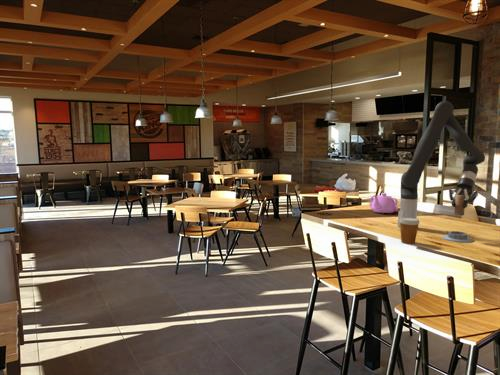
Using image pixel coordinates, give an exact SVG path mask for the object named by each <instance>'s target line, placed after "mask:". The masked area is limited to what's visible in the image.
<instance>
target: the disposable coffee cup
mask: <svg viewBox="0 0 500 375" xmlns="http://www.w3.org/2000/svg"><path fill="white" fill-rule="evenodd" d="M399 222H400V227H399V230H400V242H401V243H402V244H405V245H415V244H416V239H417V235H418V234H417V233H418V228H419V225H420V220H419V218H410V217H402V218H400V220H399Z"/></svg>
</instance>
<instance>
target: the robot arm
mask: <svg viewBox="0 0 500 375" xmlns="http://www.w3.org/2000/svg"><path fill="white" fill-rule="evenodd" d="M434 107H435V108H434V111H433V114H432V117H431V120H430V122H429V124H428V126H427V127H426V128H425V130H424V132H423V133H422V135H421V137H420V139H419V141H418V143H417V146H416V147H415V150H414V154H413V158H412V161H411V162H410V165H409V167H408V169H407V170H406V171H405V172H404V173H403V174H402V175H401V177H400V204H399V209H398V215H397V218H398V219H397V227H399V228H400V222H399V220H400V218H402V217H410V218H416V219H418V218H417V216H418V215H417V214H418V202H419V201H418V199H419V198H418V197H419V193H418V186H419V185H418V184H419V183H420V180H421V177H422V174H423V172H424V170H425V168H426V165H427V163H429V161H430V159H431V157H432V155H433V153H434V151H435V149H436V147H437V145H438V142H439V140H440V137H441V135H442V131H443V129H444V126H445V128H446V129H447V131H448V132H449V134H450V135H451V138H452V139H453V141H454V142H455V144H456V145H457V148H458V149H459V151H461V152H468V153H469V154H467V155H465V156H464V158H463V161H462V165H463V166H462V167H463V168H462V172H461V174H460V176H459V179H458V182H457V186H456V187H455V189H449V190H448V192H449V194H448V195H449V196H448V198H449V200H450V201H451V207H452V208H455V195H465V201H464V204H463V208H464V209H466V208H467V207H468V205H469V203H474V201H475V200H476V199H477V197H478V196H479V193H478V191H477V190H475V191H474V186H475V184H476V180H477V177H478V176H477V175H478V173H479V168H478V166H477V165H480V164H482V163H484V162H485V160H486V156H485V154H484V152H483V151H482V150H481V149H480V148H479V147H478V146H477V145H475V144H474V143H473V141H472V140H471V138H470V137H469V135H468V134H467V132H466V131H465V129H463V127H462V126H461V124H460V123H459V122H458V120H457V118H456V117H455V114H454V105H453V104H452V103H451V102H450V101H447V100H444V101H443V100H442V101H440V102H439V103H437V105H436V106H434ZM453 195H454V196H453ZM469 196H470V197H469Z"/></svg>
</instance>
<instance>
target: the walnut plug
mask: <svg viewBox="0 0 500 375" xmlns="http://www.w3.org/2000/svg"><path fill="white" fill-rule="evenodd" d="M454 196H455V207H454V215H456V216H465V208H463V204H464V201H465V195H455V194H454Z"/></svg>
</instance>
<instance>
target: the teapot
mask: <svg viewBox="0 0 500 375" xmlns="http://www.w3.org/2000/svg"><path fill="white" fill-rule="evenodd" d="M369 207H370V209H371V210H372V211H373V212H375V213H380V214H384V213H387V214H393V213H394V212H396V211H397V212H398V211H399V207H398V199H397V198H395V197H392V196H391V195H387V193H386V192H382V193H381V194H379V195H378V194H377V195H375V194H373V195H372V196H371V197H370V204H369Z"/></svg>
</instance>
